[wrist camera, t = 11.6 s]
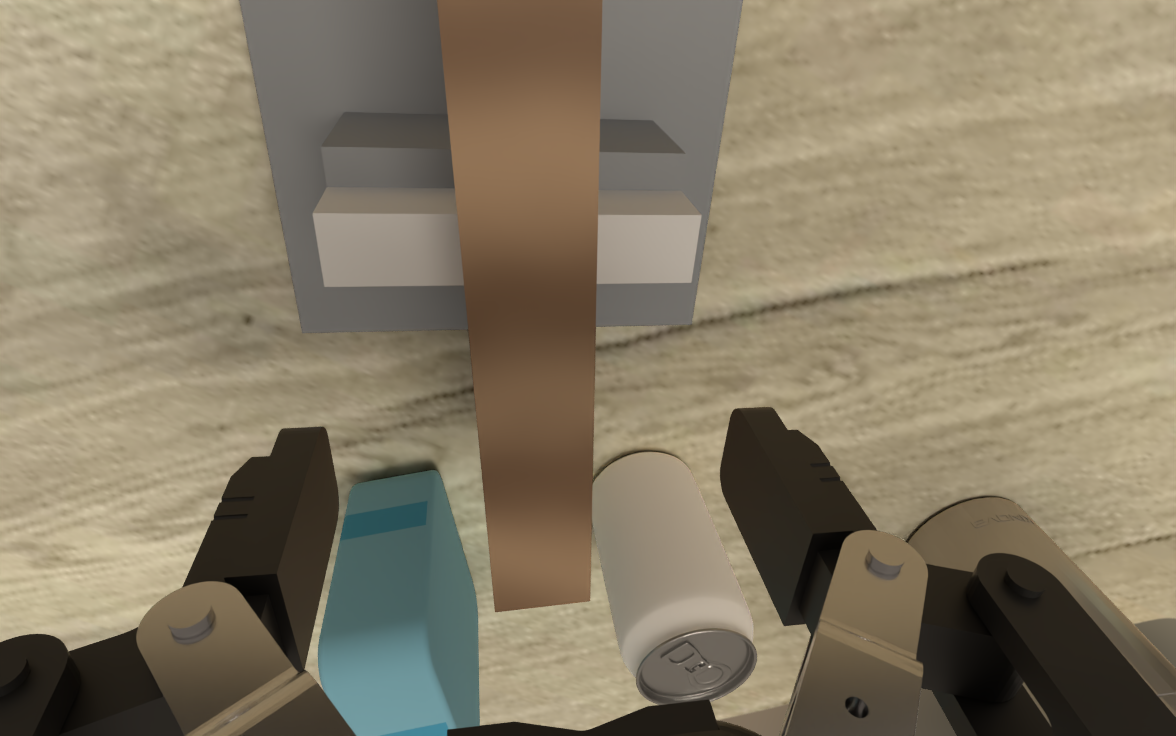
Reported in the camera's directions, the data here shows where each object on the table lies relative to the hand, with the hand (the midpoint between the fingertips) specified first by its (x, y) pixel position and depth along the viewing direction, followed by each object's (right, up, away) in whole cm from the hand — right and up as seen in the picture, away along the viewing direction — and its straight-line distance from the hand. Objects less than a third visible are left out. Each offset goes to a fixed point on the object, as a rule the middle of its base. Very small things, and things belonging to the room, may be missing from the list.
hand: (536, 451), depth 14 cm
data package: (-9, -8, +27) cm, 29 cm away
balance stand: (-3, +10, +16) cm, 19 cm away
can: (+4, -6, +27) cm, 28 cm away
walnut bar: (-1, +5, +8) cm, 10 cm away
